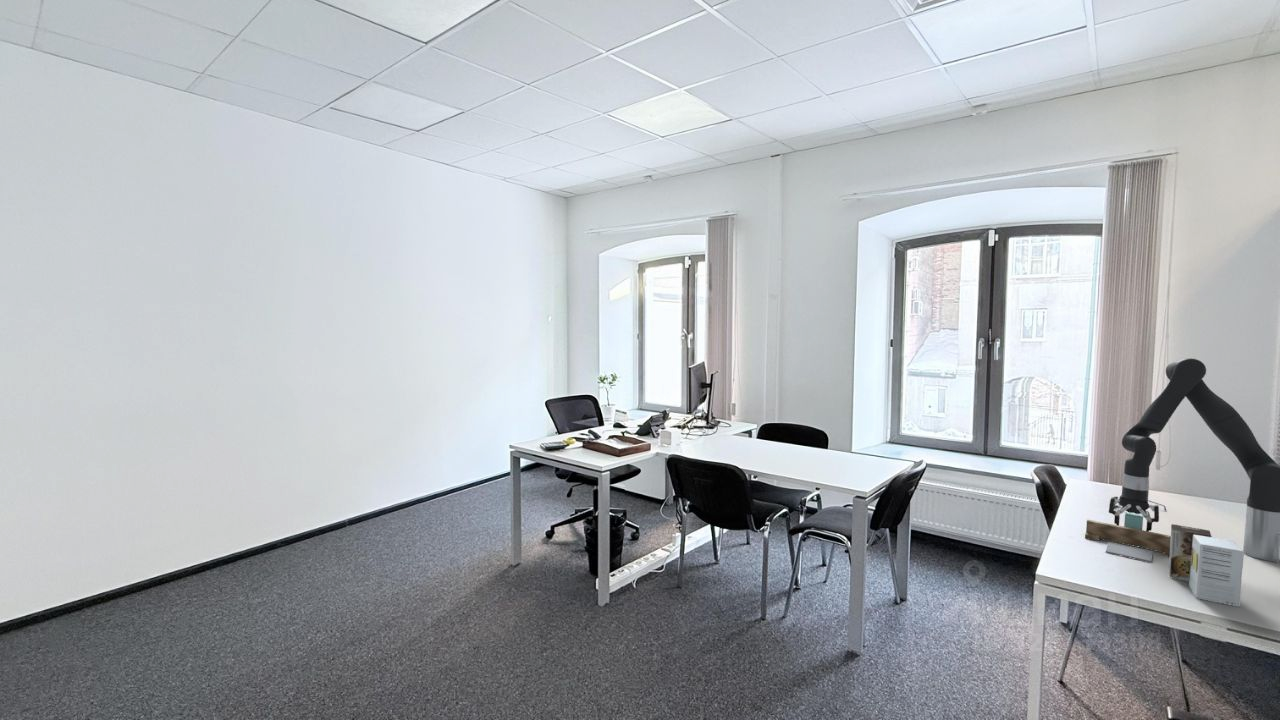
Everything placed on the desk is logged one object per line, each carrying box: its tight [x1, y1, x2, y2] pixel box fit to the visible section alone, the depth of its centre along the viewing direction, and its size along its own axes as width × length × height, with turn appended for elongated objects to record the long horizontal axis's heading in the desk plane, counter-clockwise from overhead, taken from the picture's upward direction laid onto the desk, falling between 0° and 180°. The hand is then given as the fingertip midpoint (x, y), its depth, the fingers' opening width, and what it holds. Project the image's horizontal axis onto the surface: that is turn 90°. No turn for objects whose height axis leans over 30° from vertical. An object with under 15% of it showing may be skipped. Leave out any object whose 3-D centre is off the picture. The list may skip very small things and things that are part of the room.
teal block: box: [1123, 511, 1144, 530], centre depth 210 cm, size 5×5×9 cm
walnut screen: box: [1084, 519, 1171, 557], centre depth 204 cm, size 26×8×6 cm, turn 45°
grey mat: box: [1105, 541, 1154, 563], centre depth 197 cm, size 12×12×1 cm
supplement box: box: [1188, 535, 1245, 608], centre depth 165 cm, size 10×9×17 cm
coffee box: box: [1168, 523, 1213, 582], centre depth 177 cm, size 9×6×16 cm
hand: (1132, 528), depth 211 cm, fingers open, 8 cm apart
